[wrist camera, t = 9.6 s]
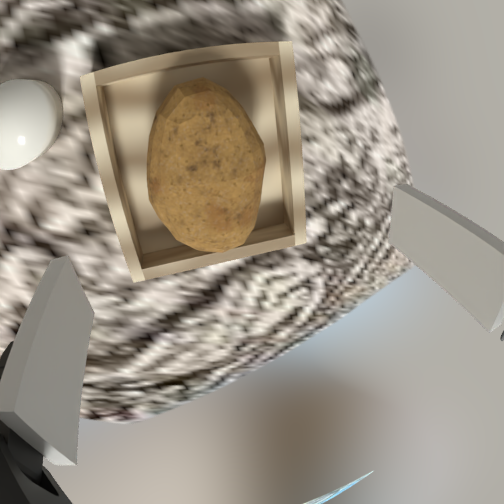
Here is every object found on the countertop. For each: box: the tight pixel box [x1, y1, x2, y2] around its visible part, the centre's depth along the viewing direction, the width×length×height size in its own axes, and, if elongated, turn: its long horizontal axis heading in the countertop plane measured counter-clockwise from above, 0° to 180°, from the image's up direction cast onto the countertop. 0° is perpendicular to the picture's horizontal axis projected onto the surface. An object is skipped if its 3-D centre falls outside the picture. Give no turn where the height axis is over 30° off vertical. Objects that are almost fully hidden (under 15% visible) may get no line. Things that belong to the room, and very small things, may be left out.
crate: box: [80, 41, 306, 282], centre depth 27 cm, size 19×17×4 cm
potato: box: [147, 77, 266, 253], centre depth 24 cm, size 10×14×8 cm
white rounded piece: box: [0, 79, 63, 170], centre depth 20 cm, size 8×8×4 cm
